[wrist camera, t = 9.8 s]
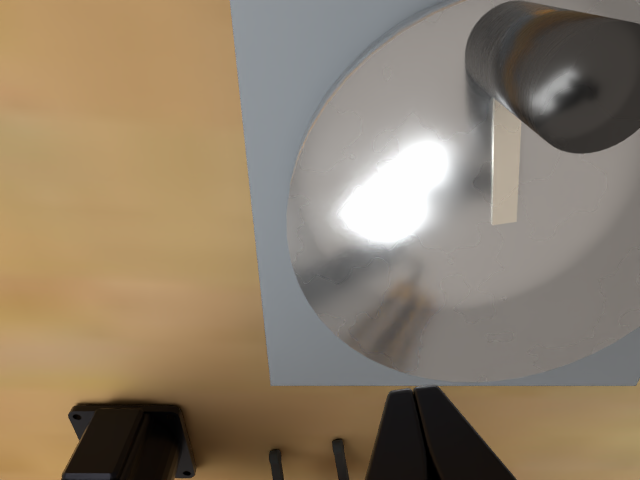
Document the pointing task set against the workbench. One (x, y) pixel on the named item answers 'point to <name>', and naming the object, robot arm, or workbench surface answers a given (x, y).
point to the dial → (477, 190)
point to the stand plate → (276, 172)
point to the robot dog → (339, 458)
